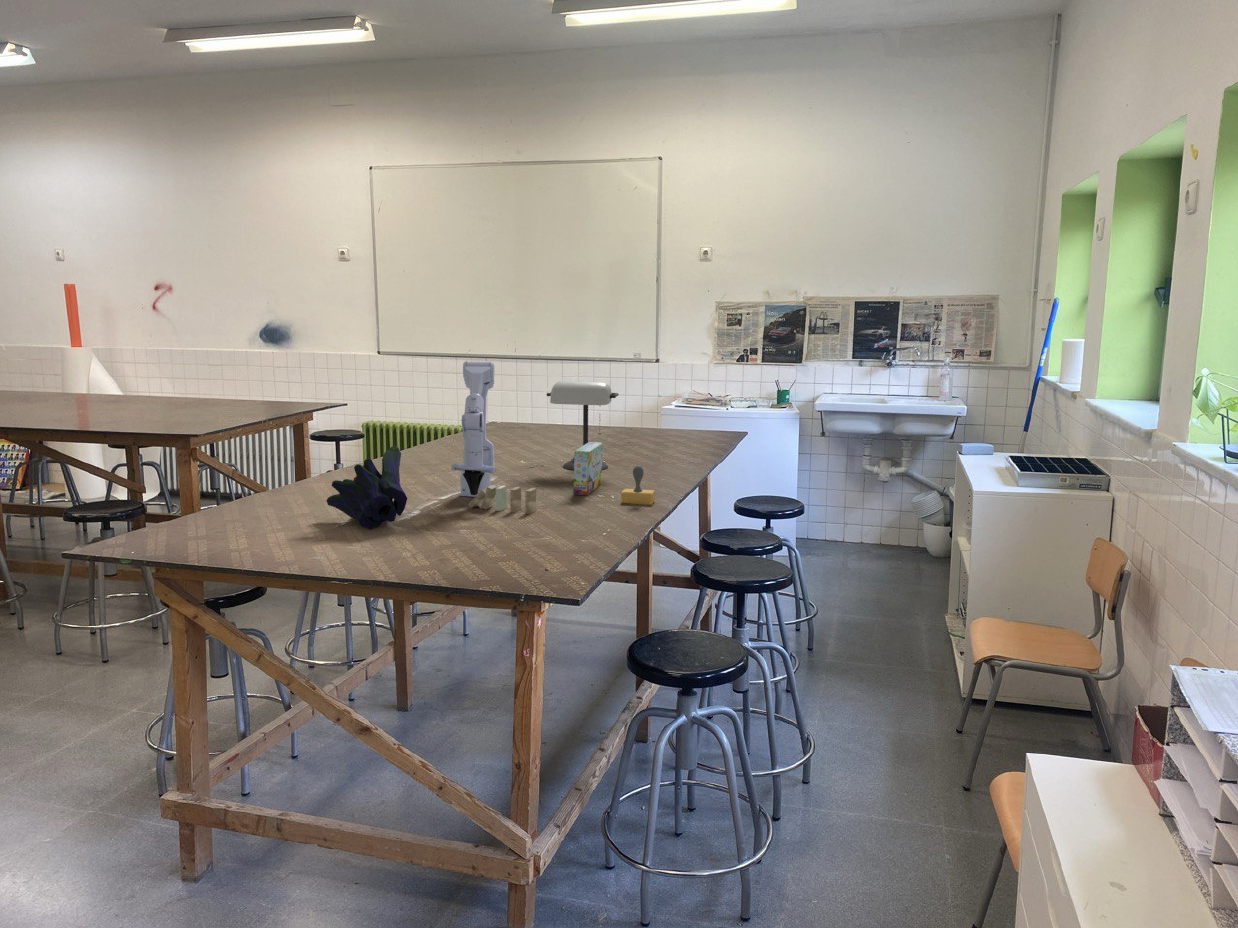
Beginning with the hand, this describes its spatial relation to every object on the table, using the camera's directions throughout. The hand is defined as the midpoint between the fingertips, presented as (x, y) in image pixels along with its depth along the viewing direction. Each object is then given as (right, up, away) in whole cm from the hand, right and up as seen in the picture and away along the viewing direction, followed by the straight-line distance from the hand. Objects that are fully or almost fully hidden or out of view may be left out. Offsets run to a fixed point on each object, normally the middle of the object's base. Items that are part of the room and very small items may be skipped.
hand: (474, 494), depth 279 cm
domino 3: (+9, -5, -2) cm, 10 cm away
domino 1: (-1, -3, +1) cm, 3 cm away
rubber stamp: (+51, -3, +10) cm, 52 cm away
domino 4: (+13, -5, -4) cm, 15 cm away
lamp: (+32, +8, +67) cm, 75 cm away
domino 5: (+18, -5, -5) cm, 20 cm away
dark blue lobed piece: (-27, -7, -17) cm, 33 cm away
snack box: (+35, +1, +29) cm, 45 cm away
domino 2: (+4, -4, -1) cm, 6 cm away
